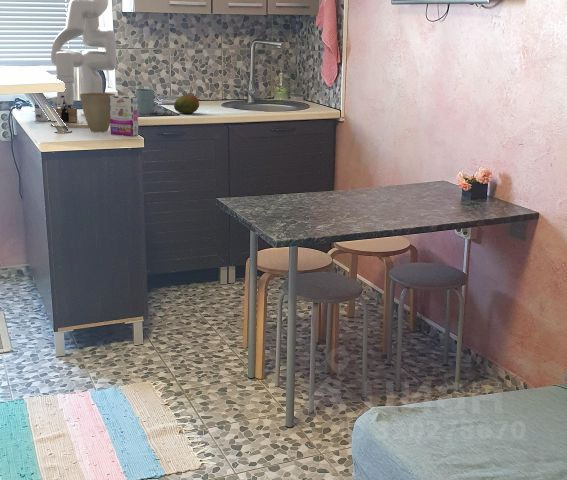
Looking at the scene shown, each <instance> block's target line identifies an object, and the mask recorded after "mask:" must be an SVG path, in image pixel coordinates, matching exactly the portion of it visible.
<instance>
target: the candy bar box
mask: <svg viewBox="0 0 567 480" xmlns="http://www.w3.org/2000/svg"><path fill="white" fill-rule="evenodd" d="M109 130H110V135H113V136H122V135H123V136H125V137H137V136H139V113H138V97H135V95H134V96H133V95H116V94H115V95H113V96H110V126H109Z"/></svg>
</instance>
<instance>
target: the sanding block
mask: <svg viewBox="0 0 567 480" xmlns="http://www.w3.org/2000/svg"><path fill="white" fill-rule="evenodd" d="M56 112H57V113H58V115H59V116H60V118H61V107H60V106H58V108H56ZM68 115H69V121H68V122H70V123H75V122H77V121H78V108H77V107H72V108H68ZM63 122H67V121H63Z"/></svg>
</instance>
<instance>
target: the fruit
mask: <svg viewBox="0 0 567 480" xmlns="http://www.w3.org/2000/svg"><path fill="white" fill-rule="evenodd" d="M173 107H174V110H175V111H176V112H177V113H179V114H185V115H186V114H192V113H193V114H194V113H195V112H197V110H198V109H199V107H200V101H199V99H198V97H197V96H195V95H194V94H191V93H190V94H183V95H181V96H179V97H178V98H177V99H176V100H175V102H174V103H173Z"/></svg>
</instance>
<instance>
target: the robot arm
mask: <svg viewBox="0 0 567 480" xmlns="http://www.w3.org/2000/svg"><path fill="white" fill-rule="evenodd" d="M108 6H109V0H70V1H69V4H68V7H67V8H68V9H67V13H66V14H67V17H66V22H65V28H63V30H61V31H60V32H59V33H58V34H57V36H56V37H55V38H54V40H53V42H52V47H51V52H50V53H51V55H50V59H51V63H52V64H53V66H55V67H56V68H55V69H56V70H55V71H56V80H57V79H59V80H61V81H63V82H64V83H65V88H66V89H65V91H64V92H57V93H56V97H57V104H58V107H61V119H62V120H63V121H67V122H68V121H69V115H68V108H73V105H74V102H75V95H74V84H75V70H74V69H75V68H80V67H81V74H82V94H83V93H104V92H103V85H104V84H103V78H102V76H101V74H100V73H99V71H108V72H109V71H114V70H115V69H116V67H117V44H116V43H117V41H116V35H115V31H114V30H113V29H111V28H109V27H100V17H101V15H103V14H104V12H105V11H106V10H107V9H108ZM78 37H81V40H82V44H83V45H84V47H88V48H98V49H87V50H83V51H82V52H81V51H79V50H73V49H72V50H71V49H62V47H64V45H65V44H66V43H67V42H70V41H71V40H74V39H76V38H78ZM100 48H101V49H104V50H99V49H100ZM80 116H84V117H85V115H84V112H83V111H81V112H80Z"/></svg>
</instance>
